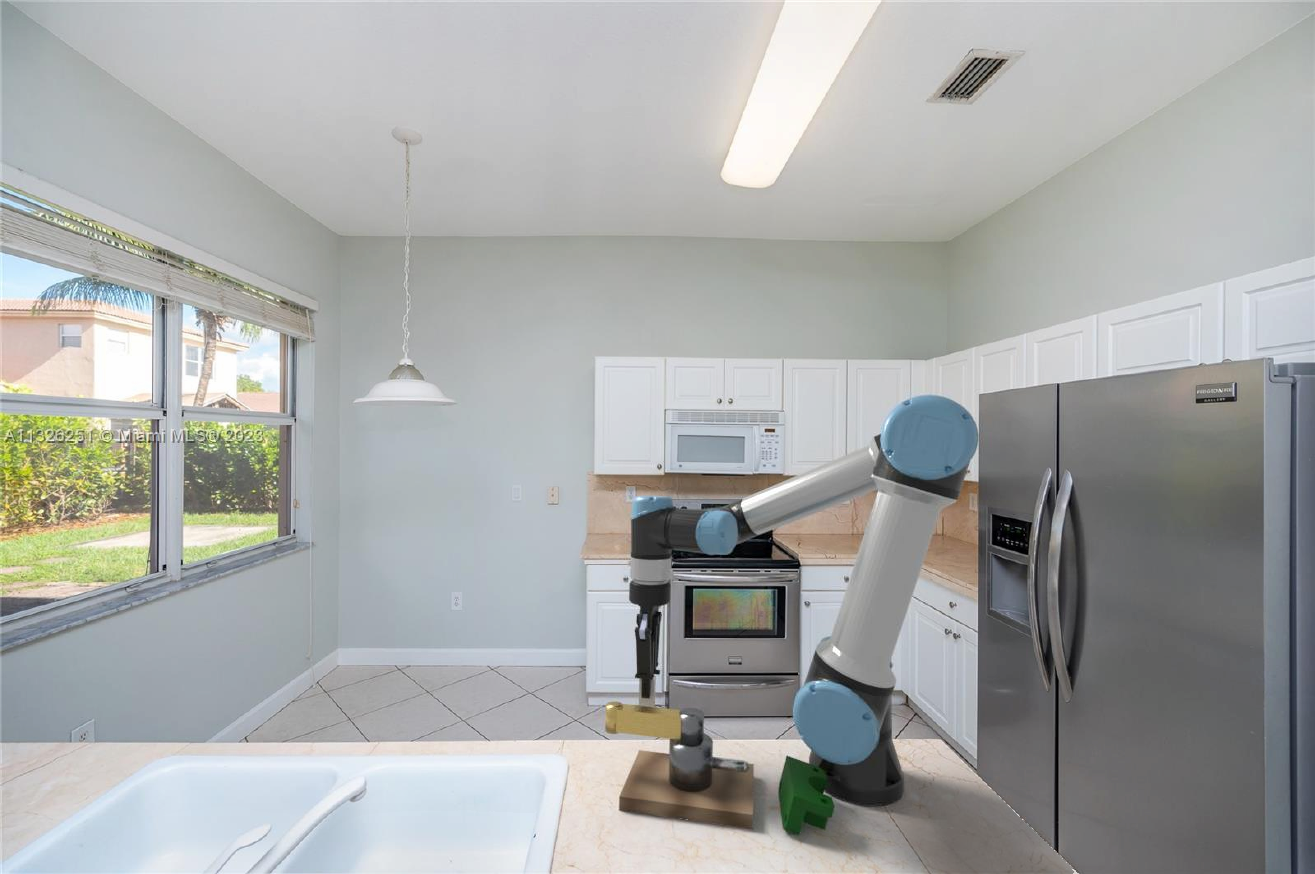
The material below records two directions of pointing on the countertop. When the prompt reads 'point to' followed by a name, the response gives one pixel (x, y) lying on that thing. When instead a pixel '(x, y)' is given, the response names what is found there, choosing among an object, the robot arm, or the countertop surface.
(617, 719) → the yellow bar
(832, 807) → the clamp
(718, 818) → the stand
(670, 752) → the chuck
